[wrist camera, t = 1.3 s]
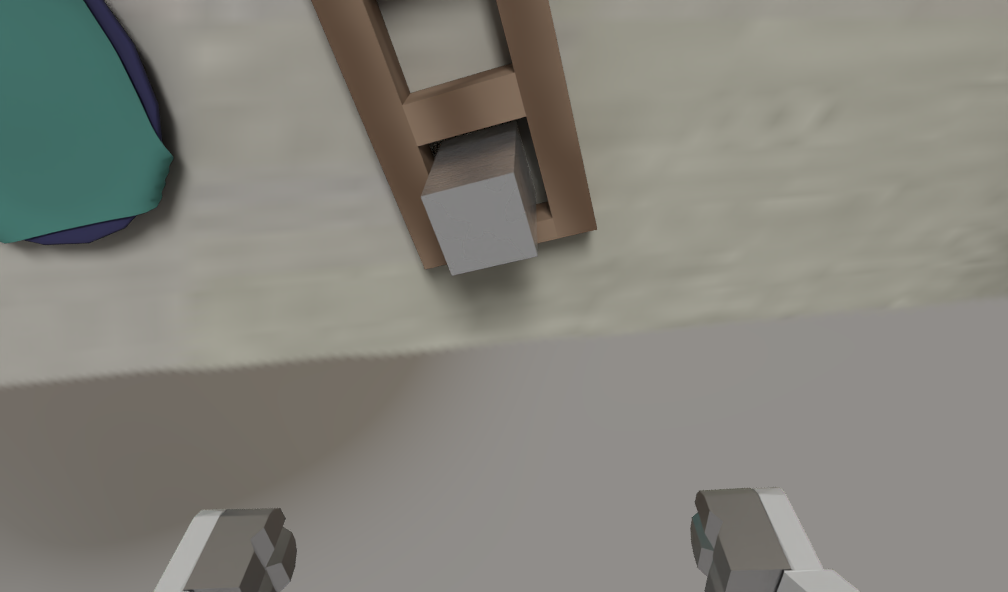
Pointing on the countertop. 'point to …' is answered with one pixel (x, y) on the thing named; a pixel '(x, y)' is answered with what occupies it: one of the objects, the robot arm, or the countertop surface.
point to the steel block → (482, 200)
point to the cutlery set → (74, 124)
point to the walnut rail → (463, 112)
